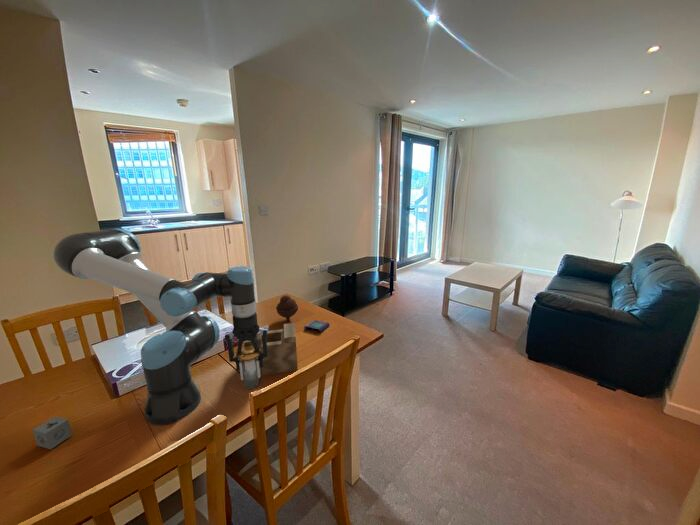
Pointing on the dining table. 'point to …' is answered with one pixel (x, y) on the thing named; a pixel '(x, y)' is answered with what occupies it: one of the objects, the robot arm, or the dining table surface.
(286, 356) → the hitch block
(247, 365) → the pin
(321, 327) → the blue flat box
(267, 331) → the clip tab
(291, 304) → the ice cream bowl
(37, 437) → the grey toy block
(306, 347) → the dining table surface
